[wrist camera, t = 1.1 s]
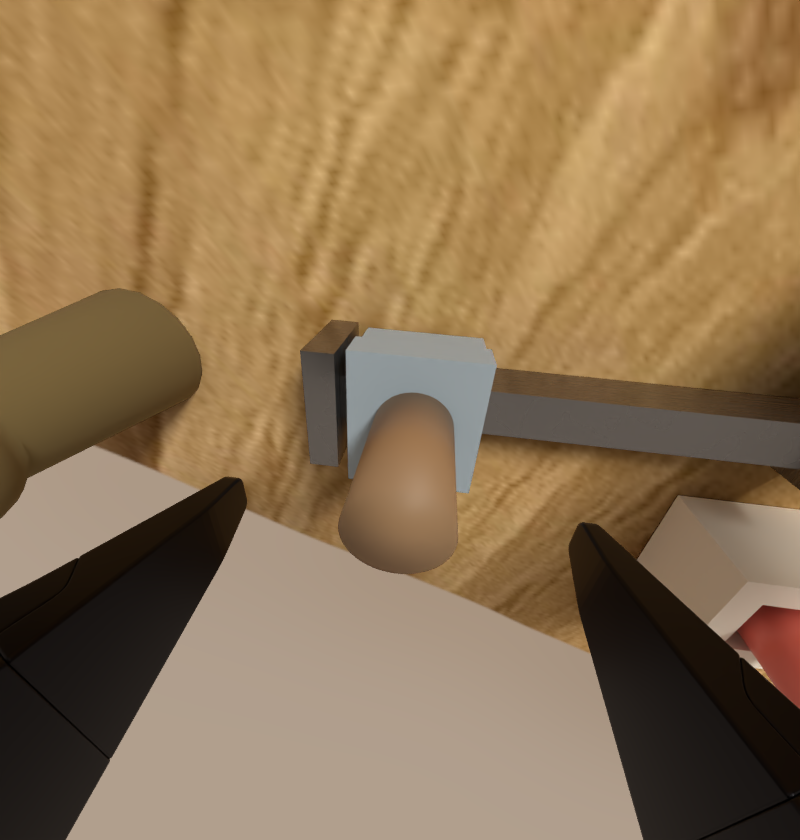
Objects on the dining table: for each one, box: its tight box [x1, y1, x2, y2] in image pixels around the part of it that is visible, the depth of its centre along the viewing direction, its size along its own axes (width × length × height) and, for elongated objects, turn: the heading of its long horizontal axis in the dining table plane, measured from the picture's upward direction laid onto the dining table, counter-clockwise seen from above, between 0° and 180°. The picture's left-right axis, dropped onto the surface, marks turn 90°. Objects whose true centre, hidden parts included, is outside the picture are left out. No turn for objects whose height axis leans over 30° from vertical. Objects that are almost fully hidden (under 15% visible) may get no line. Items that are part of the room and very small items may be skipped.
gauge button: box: [737, 605, 800, 708], centre depth 15 cm, size 3×3×4 cm
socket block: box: [637, 495, 800, 669], centre depth 18 cm, size 6×6×5 cm
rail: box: [300, 320, 800, 490], centre depth 15 cm, size 22×5×4 cm, turn 86°
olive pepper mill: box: [0, 288, 202, 518], centre depth 13 cm, size 6×6×11 cm
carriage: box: [338, 328, 497, 574], centre depth 13 cm, size 5×6×9 cm
